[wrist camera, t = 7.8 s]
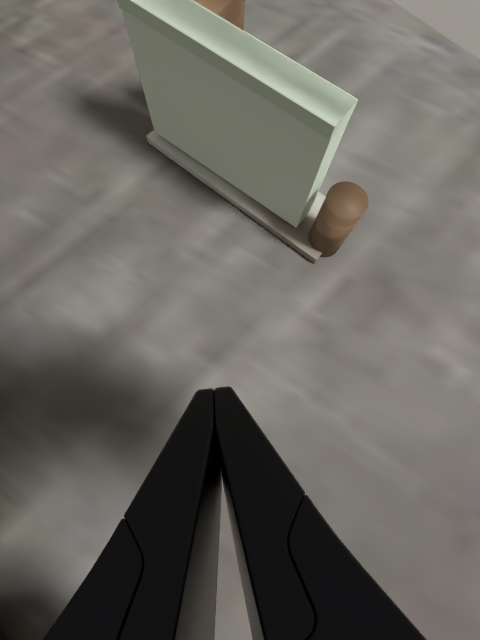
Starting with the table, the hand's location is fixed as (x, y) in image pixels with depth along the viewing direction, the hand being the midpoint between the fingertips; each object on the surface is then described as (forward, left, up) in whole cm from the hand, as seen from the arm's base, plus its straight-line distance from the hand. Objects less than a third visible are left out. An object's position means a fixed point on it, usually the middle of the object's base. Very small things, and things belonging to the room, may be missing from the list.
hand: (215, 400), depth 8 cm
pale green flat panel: (+13, +10, -12) cm, 20 cm away
